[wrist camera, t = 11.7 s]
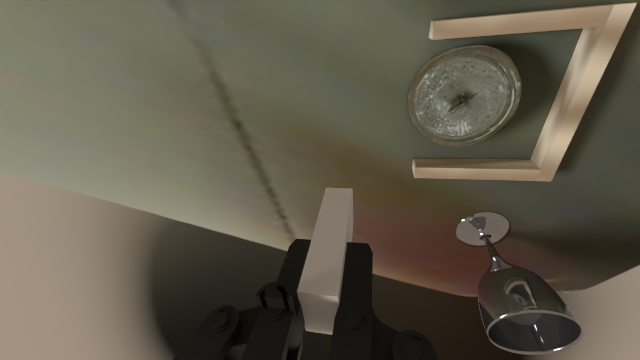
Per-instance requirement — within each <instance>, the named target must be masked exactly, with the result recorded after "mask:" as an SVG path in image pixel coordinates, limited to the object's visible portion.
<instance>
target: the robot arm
mask: <svg viewBox="0 0 640 360" xmlns="http://www.w3.org/2000/svg"><path fill="white" fill-rule="evenodd" d="M352 231H353V194H352V189H345V188H326V190H325V194H324V197H323V201H322V204H321V208H320V212H319V215H318V219H317V222H316V226H315V229H314V233H313V236H312V240H306V239H296V240H295V241H294V242H293V243H292V244H291V245H290V246H289V249H288V252H287V254H286V257H285V260H284V264H283V266H282V268H281V271H280V273H279V276H278V279H277V282H271V283H269V284H266V285H265V286H263V287H262V288H261V289H260V290H259V291H258V293H257V295H256V297H257V300H258V302H259V305H260V306H258V307H255V308H252V309H247V310H242V311H237V310H236V309H235V308H234V307H232V306H222V307H219V308H217V309H215V310H213V311H212V312H211V313H210V314H209V315H208V316H207V317H206V319H205V320H204V321H203V322H202V324H201V325H200V326H199V328H198V329H197V330H196V331H195V332H194V334H193V335H192V336H191V338H190V339H189V340H188V341H187V343H186V344H185V345H184V346H183V348H182V349H181V350H180V351H179V353H178V354H177V355H176V356H175V358H174V359H173V360H300V356H301V351H302V346H303V339H302V333H303V329H304V325H305V329H306V331H312V332H318V333H325V334H332V340H331V347H330V355H329V360H439V359H438V357H437V355H436V352H435V350H434V348H433V346H432V344H431V343H430V341H429V340H428V339H427V338H426V337H425V336H424V335H423V334H420V333H418V332H416V331H412V330H405V331H402V332H399V331H397V330H395V329H392V328H390V327H388V326H387V325H385V324H383V323H382V322H381V321H380V320H379V319H378V318H377V317H376V315H375V313H374V311H373V308H372V259H373V252H372V250H371V248H370V246H369V244H367V243H353V242H351V240H352Z"/></svg>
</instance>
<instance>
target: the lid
mask: <svg viewBox="0 0 640 360" xmlns="http://www.w3.org/2000/svg"><path fill="white" fill-rule="evenodd" d="M521 95H522V81H521V78H520V75H519V72H518V69H517V68H516V66H515V65H514V63H513V61H512V59H511V58H510V57H509V56H508V55H507V54H505V53H504V52H502V51H501V50H499V49H496V48H493V47H490V46H486V45H477V44H471V45H465V46H460V47H455V48H452V49H449V50H446V51H444V52H441V53H440V54H437V55H435V56H434V57H432V58H431V59H430V60H429V61H428V62H427V63H426V64H425V65H424V66H423V67H422V68H421V69H420V71H419V72H418V74H417V76H416V78H415V80H414V81H413V83H412V85H411V87H410V89H409V92H408V110H409V115H410V117H411V118H412V121H413V123H414V125H415V126H416V127H417V128H418V129H419V131H420V132H421V133H422V134H424V135H425V136H426V137H428V138H429V139H431V140H432V141H434V142H436V143H439V144H442V145H446V146H452V147H454V146H459V147H463V146H469V145H472V144H475V143H478V142H480V141H483V140H485V139H487V138H489V137H490V136H492V135H494V134H495V133H496V132H498V131H499V130H500V129H501V128H502V127H503V126H504V125H505V124H506V123H507V122H508V121H509V120H510V119H511V118H512V117H513V115H514V114H515V112H516V110H517V108H518V106H519V103H520V98H521Z"/></svg>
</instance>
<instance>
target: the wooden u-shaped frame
mask: <svg viewBox="0 0 640 360" xmlns="http://www.w3.org/2000/svg"><path fill="white" fill-rule="evenodd" d="M636 4H637V3H620V4H605V5H595V6H584V7H573V8H562V9H551V10H540V11H529V12H519V13H508V14H497V15H486V16H475V17H464V18H454V19H443V20H432V21H431V24H430V32H429V38H430V39H433V40H437V39H450V38H463V37H476V36H489V35H502V34H514V33H527V32H540V31H553V30H566V29H579V28H583V31H582V33H581V36H580V38H579V41H578V43H577V46H576V48H575V50H574V53H573V55H572V58H571V60H570V63H569V65H568V68H567V70H566V73H565V75H564V78H563V80H562V83H561V85H560V87H559V90H558V92H557V95H556V97H555V100H554V102H553V105H552V107H551V110H550V112H549V115H548V117H547V119H546V122H545V124H544V127H543V129H542V132H541V134H540V137H539V139H538V142H537V144H536V147H535V149H534V151H533V154H532V156H531V159H444V158H414V159H413V166H412V169H413V173H414V178H442V179H481V180H520V181H552V179H553V177H554V174H555V172H556V170H557V168H558V166H559V164H560V162H561V160H562V158H563V156H564V154H565V152H566V150H567V147H568V145H569V143H570V141H571V139H572V137H573V135H574V133H575V131H576V129H577V127H578V125H579V122H580V120H581V118H582V116H583V114H584V112H585V110H586V108H587V106H588V104H589V102H590V100H591V98H592V95H593V93H594V91H595V89H596V87H597V85H598V83H599V81H600V79H601V77H602V75H603V73H604V71H605V68H606V66H607V64H608V62H609V60H610V58H611V56H612V54H613V52H614V50H615V48H616V46H617V44H618V41H619V39H620V37H621V35H622V33H623V31H624V29H625V27H626V25H627V23H628V21H629V19H630V17H631V14H632V12H633V10H634V8H635V6H636Z"/></svg>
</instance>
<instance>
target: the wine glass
mask: <svg viewBox="0 0 640 360" xmlns="http://www.w3.org/2000/svg"><path fill="white" fill-rule="evenodd" d="M509 231H510V223H509V221H508V220H507V219H506V218H505V217H504V216H502V215H500V214H498V213H494V212H479V213H475V214H472V215H469V216H467V217H466V218H464V219H463V220H462V221H461V222H460V223H459V224H458V226H457V228H456V236H457V238H458V239H459V240H460V241H461V242H462V243H464V244H466V245H468V246H472V247H487V249H488V252H489V256H490V260H491V263H490V267H489V269H488V270H487V271H486V273H485V274H484V275H483V277H482V278H481V280H480V282H479V285H478V301H479V307H480V313H481V316H482V320H483V323H484V326H485V329H486V332H487V335H488V337H489V339H490V341H491V342H492V343H493V344H495V345H496V346H497V347H499V348H501V349H504V350H506V351H510V352H514V353H519V354H528V355H541V354H551V353H555V352H560V351H563V350H566V349H568V348H571V347H572V346H574V345H575V344H577V343H578V342H579V341H580V340H581V338H582V335H583V331H582V328H581V326H580V325H579V323H578V322H577V320H576V318H575V317H574V315H573V314H572V312H571V311H570V309H569V308H568V307H567V305H566V304H565V302H564V301H563V300H562V299H561V297H560V296H559V295H558V294H557V293H556V292H555V290H554V289H553V288H552V287H551V286H550V285H549V284H548V283H547V282H546V281H544V280H543V279H542V278H541V277H540V276H538V275H537V274H535V273H534V272H532V271H530V270H528V269H525V268H522V267H519V266H516V265H513V264H510V263H508V262H506V261H505V260H504V259H502V258H501V256H500V255H499V254H498V252H497V251H496V249H495V248H494V246H493V245H494V244H497V243H499V242H500V241H502V240H503V239H504V238H505V237H506V236H507V235H508V233H509Z"/></svg>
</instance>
